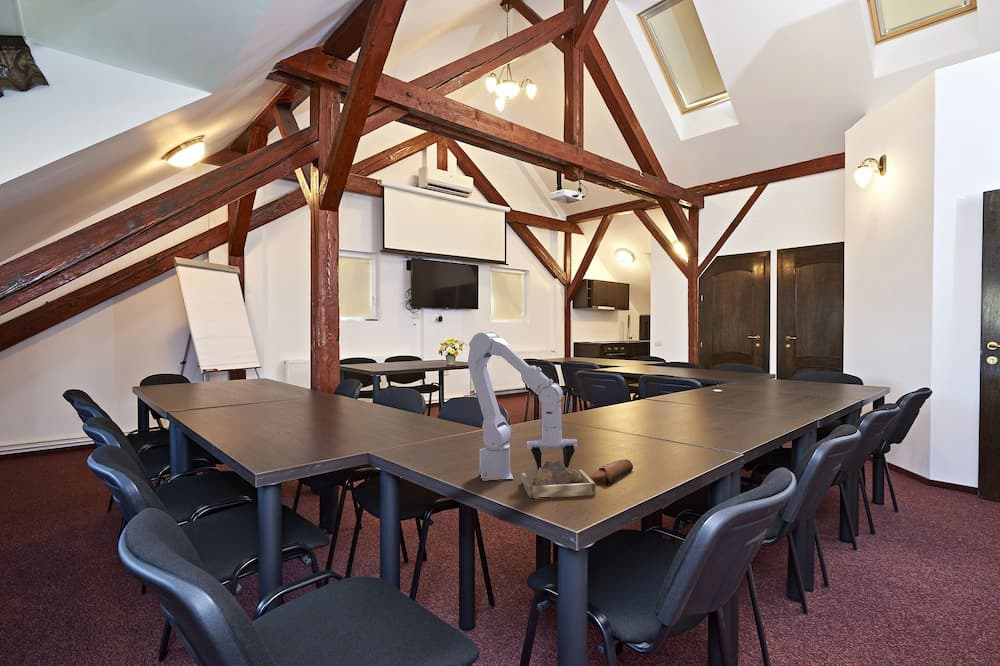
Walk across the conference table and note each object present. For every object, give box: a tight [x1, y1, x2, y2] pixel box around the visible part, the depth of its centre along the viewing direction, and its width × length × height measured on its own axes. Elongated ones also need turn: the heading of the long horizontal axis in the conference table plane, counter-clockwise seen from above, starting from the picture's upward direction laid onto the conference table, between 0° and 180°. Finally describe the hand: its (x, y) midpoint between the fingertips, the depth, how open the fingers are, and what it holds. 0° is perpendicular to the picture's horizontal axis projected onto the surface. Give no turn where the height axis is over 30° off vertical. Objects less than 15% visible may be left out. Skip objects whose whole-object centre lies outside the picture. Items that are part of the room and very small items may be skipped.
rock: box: [531, 460, 579, 486], centre depth 138 cm, size 6×14×7 cm, turn 106°
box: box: [521, 469, 597, 499], centre depth 136 cm, size 18×13×3 cm
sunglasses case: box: [588, 459, 634, 487], centre depth 146 cm, size 18×7×7 cm, turn 144°
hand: (552, 472), depth 141 cm, fingers open, 7 cm apart
